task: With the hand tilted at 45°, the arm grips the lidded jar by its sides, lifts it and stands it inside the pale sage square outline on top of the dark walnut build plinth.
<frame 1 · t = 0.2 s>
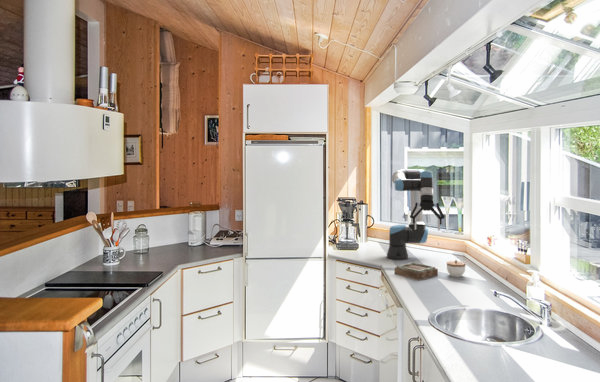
hand: (427, 229, 259), 28 cm above the worktop, tool tilted 20°, fingers open, 13 cm apart
build plinth: (416, 274, 261), on the worktop
lidded jar: (455, 276, 258), on the worktop
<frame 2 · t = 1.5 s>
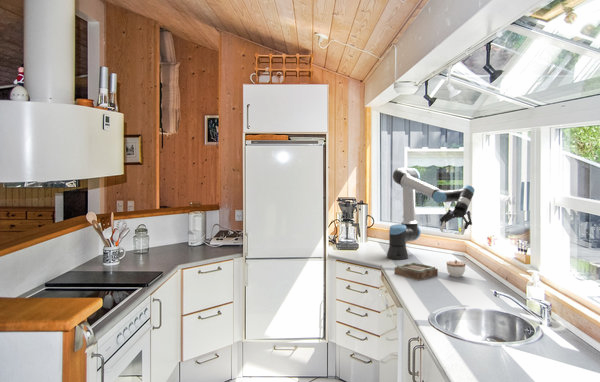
hand: (451, 231, 266), 25 cm above the worktop, tool tilted 45°, fingers open, 13 cm apart
nothing on the worktop moved.
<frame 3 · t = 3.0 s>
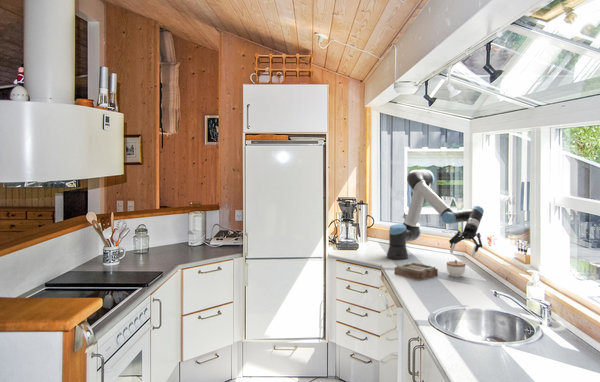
hand: (461, 254, 262), 12 cm above the worktop, tool tilted 45°, fingers open, 13 cm apart
nothing on the worktop moved.
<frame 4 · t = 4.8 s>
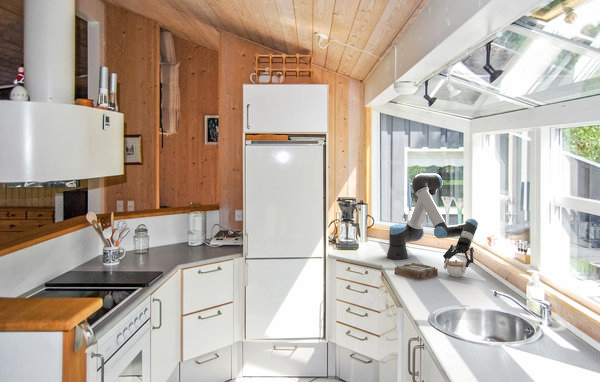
hand: (453, 269, 256), 4 cm above the worktop, tool tilted 45°, fingers closed on lidded jar, 11 cm apart
lidded jar: (455, 276, 258), on the worktop, touching gripper
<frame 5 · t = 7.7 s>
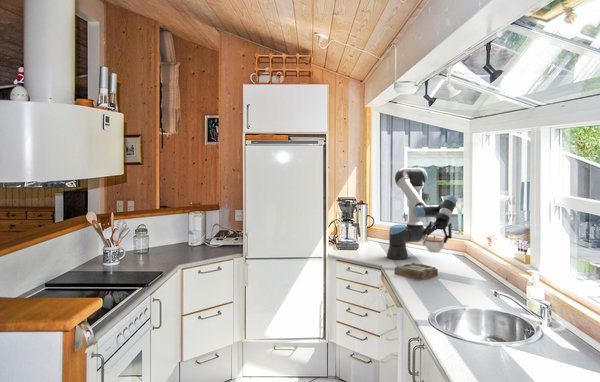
hand: (432, 245, 256), 19 cm above the worktop, tool tilted 45°, fingers closed on lidded jar, 11 cm apart
lidded jar: (434, 251, 259), point 14 cm above the worktop, touching gripper
when the fingers open (10 cm above the worktop, at t = 10.7 s): lidded jar drops 2 cm, resting on build plinth.
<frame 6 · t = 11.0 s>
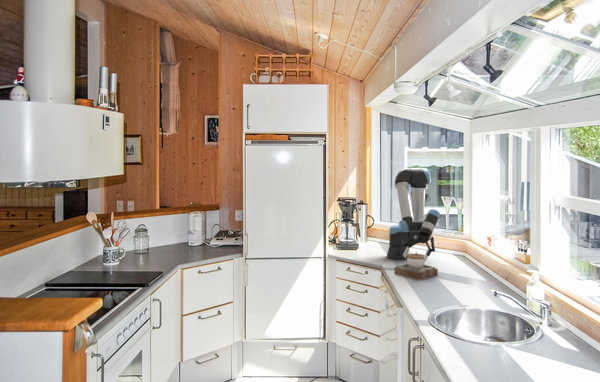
hand: (414, 258, 259), 10 cm above the worktop, tool tilted 45°, fingers open, 13 cm apart
lidded jar: (416, 268, 261), point 4 cm above the worktop, touching build plinth
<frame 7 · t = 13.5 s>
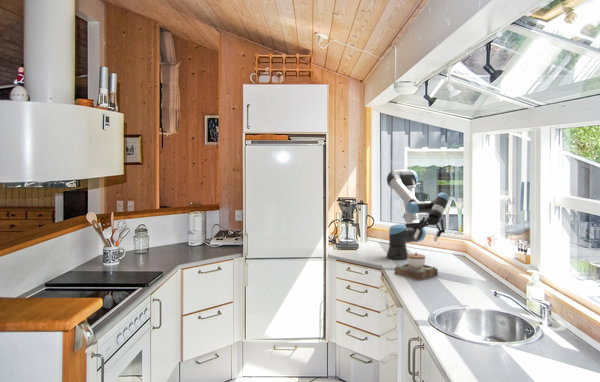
hand: (424, 239, 267), 20 cm above the worktop, tool tilted 45°, fingers open, 13 cm apart
nothing on the worktop moved.
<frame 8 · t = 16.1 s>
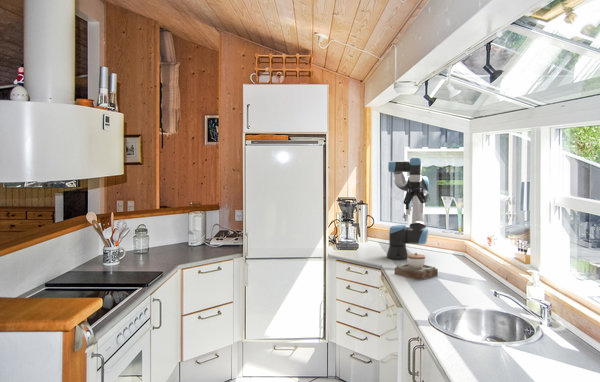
hand: (414, 213, 281), 35 cm above the worktop, tool pointing down, fingers open, 13 cm apart
nothing on the worktop moved.
at the end: lidded jar 0.1 cm off-centre on the build plinth, point 3.8 cm above the build plinth's base; lidded jar tilted 0°; the gripper is holding nothing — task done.
